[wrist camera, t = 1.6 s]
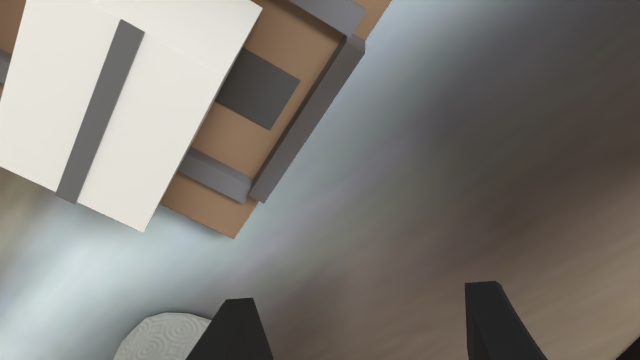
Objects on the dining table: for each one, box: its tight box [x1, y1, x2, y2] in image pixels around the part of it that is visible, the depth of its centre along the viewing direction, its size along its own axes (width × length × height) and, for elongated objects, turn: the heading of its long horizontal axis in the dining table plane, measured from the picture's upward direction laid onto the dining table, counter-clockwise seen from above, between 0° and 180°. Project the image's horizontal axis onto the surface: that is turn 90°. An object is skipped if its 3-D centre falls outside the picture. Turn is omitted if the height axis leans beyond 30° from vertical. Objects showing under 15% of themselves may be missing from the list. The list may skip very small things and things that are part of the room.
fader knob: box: [0, 0, 263, 232], centre depth 14 cm, size 4×5×5 cm
